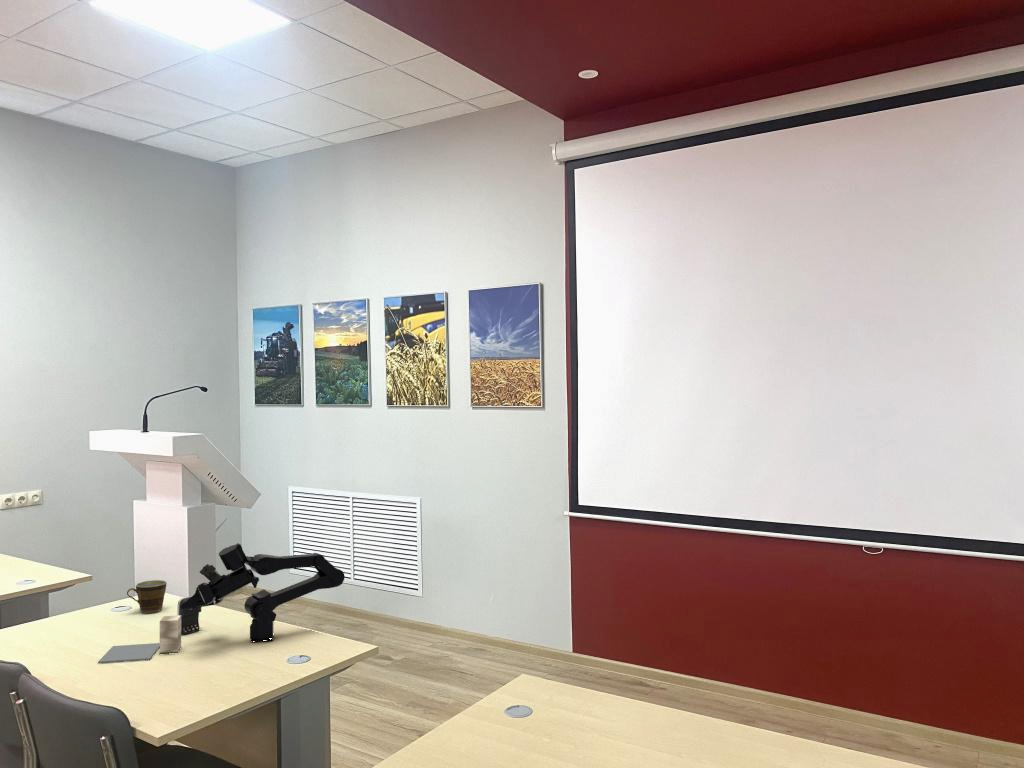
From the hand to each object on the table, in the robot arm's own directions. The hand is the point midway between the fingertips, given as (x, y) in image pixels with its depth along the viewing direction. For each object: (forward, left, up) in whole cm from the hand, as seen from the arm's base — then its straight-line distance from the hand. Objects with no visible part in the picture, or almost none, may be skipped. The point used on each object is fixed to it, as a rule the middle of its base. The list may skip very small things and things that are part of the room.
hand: (184, 607), depth 232 cm
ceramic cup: (+22, -45, -13) cm, 51 cm away
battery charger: (+2, -17, -13) cm, 21 cm away
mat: (+15, +1, -13) cm, 19 cm away
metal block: (+4, +1, -13) cm, 13 cm away
